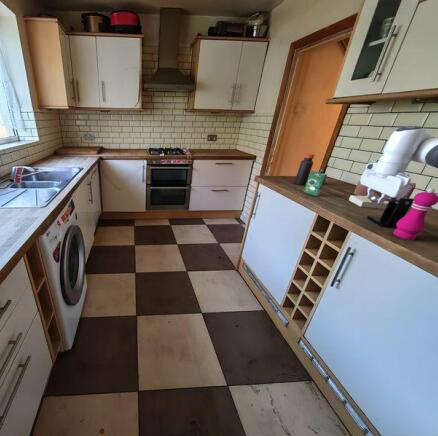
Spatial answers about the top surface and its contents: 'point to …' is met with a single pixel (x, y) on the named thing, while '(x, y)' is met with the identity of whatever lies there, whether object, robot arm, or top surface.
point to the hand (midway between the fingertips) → (374, 200)
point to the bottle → (304, 170)
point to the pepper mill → (416, 215)
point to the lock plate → (366, 202)
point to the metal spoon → (375, 197)
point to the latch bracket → (393, 213)
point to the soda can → (410, 189)
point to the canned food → (363, 190)
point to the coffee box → (314, 183)
